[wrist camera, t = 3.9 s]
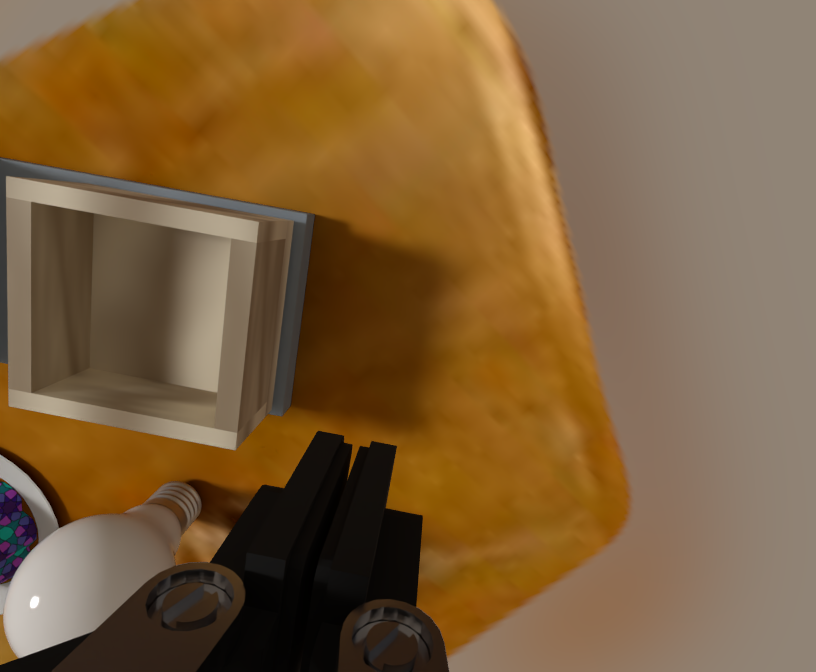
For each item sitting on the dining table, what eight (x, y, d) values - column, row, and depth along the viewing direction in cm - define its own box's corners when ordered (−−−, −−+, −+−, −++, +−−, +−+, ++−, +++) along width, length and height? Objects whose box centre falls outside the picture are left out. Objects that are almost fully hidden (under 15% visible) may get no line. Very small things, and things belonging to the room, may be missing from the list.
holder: (293, 220, 24) (258, 221, 20) (271, 409, 26) (235, 450, 22) (88, 183, 24) (6, 175, 20) (83, 373, 27) (8, 406, 22)
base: (315, 214, 26) (258, 213, 18) (290, 405, 28) (231, 478, 20) (-21, 153, 26) (-217, 127, 18) (-16, 347, 29) (-188, 396, 21)
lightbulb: (258, 517, 30) (155, 684, 19) (172, 560, 31) (29, 741, 20) (197, 427, 29) (52, 551, 18) (110, 475, 30) (-75, 618, 19)
